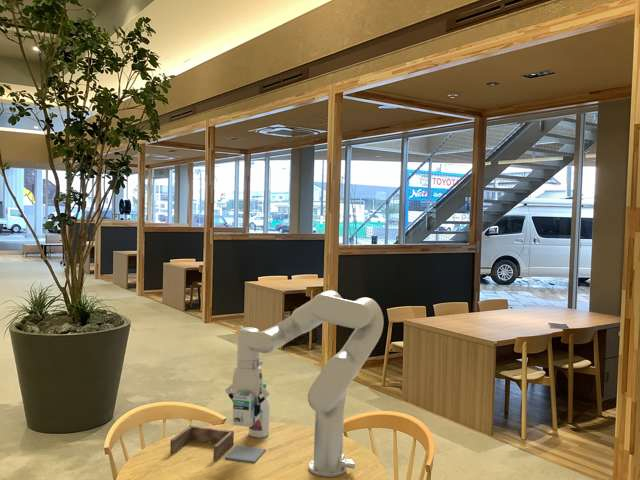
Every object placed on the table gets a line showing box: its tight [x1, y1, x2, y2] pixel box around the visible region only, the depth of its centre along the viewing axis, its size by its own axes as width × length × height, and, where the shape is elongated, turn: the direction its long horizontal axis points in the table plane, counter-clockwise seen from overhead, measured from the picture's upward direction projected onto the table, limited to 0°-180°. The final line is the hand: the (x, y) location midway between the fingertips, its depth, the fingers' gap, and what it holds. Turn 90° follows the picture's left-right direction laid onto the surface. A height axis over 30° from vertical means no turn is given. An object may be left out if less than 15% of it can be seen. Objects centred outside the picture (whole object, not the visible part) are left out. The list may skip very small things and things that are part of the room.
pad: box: [224, 444, 266, 464], centre depth 205 cm, size 11×11×1 cm
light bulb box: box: [232, 392, 260, 428], centre depth 204 cm, size 11×7×11 cm, turn 168°
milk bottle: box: [248, 381, 271, 439], centre depth 223 cm, size 8×8×20 cm
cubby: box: [169, 425, 235, 462], centre depth 208 cm, size 17×15×5 cm
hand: (246, 413), depth 204 cm, fingers closed on light bulb box, 6 cm apart
